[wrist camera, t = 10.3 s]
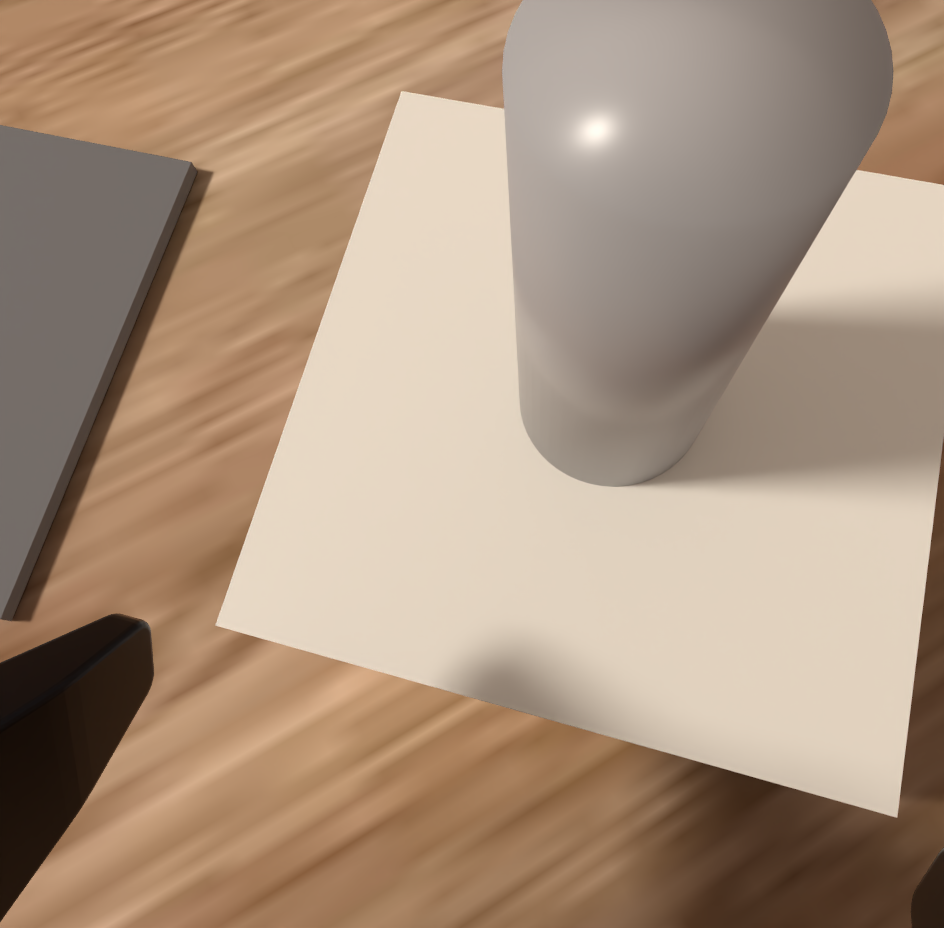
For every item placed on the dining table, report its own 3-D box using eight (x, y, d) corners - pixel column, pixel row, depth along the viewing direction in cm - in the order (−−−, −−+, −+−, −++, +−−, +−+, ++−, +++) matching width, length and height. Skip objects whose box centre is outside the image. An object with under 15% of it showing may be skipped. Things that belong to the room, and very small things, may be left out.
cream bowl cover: (806, 790, 16) (1481, 997, 5) (288, 644, 18) (-170, 527, 6) (880, 299, 19) (1412, -328, 7) (428, 211, 20) (291, -417, 9)
